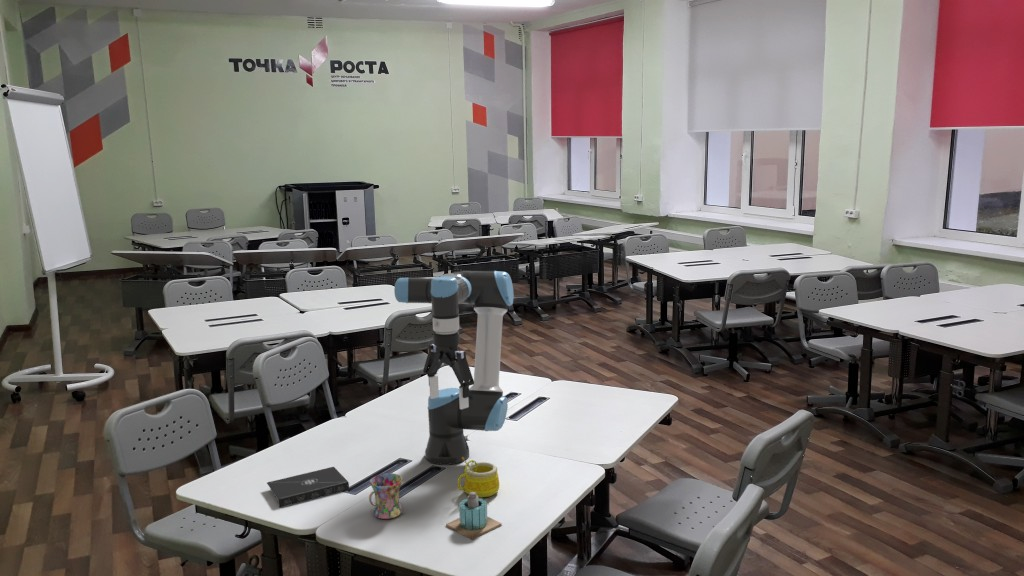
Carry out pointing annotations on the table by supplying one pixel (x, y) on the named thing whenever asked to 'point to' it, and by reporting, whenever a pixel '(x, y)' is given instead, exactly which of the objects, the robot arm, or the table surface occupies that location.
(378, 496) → the mug
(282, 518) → the table surface
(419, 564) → the table surface
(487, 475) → the mug
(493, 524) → the peg on square base
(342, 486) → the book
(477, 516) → the teal slatted pot
